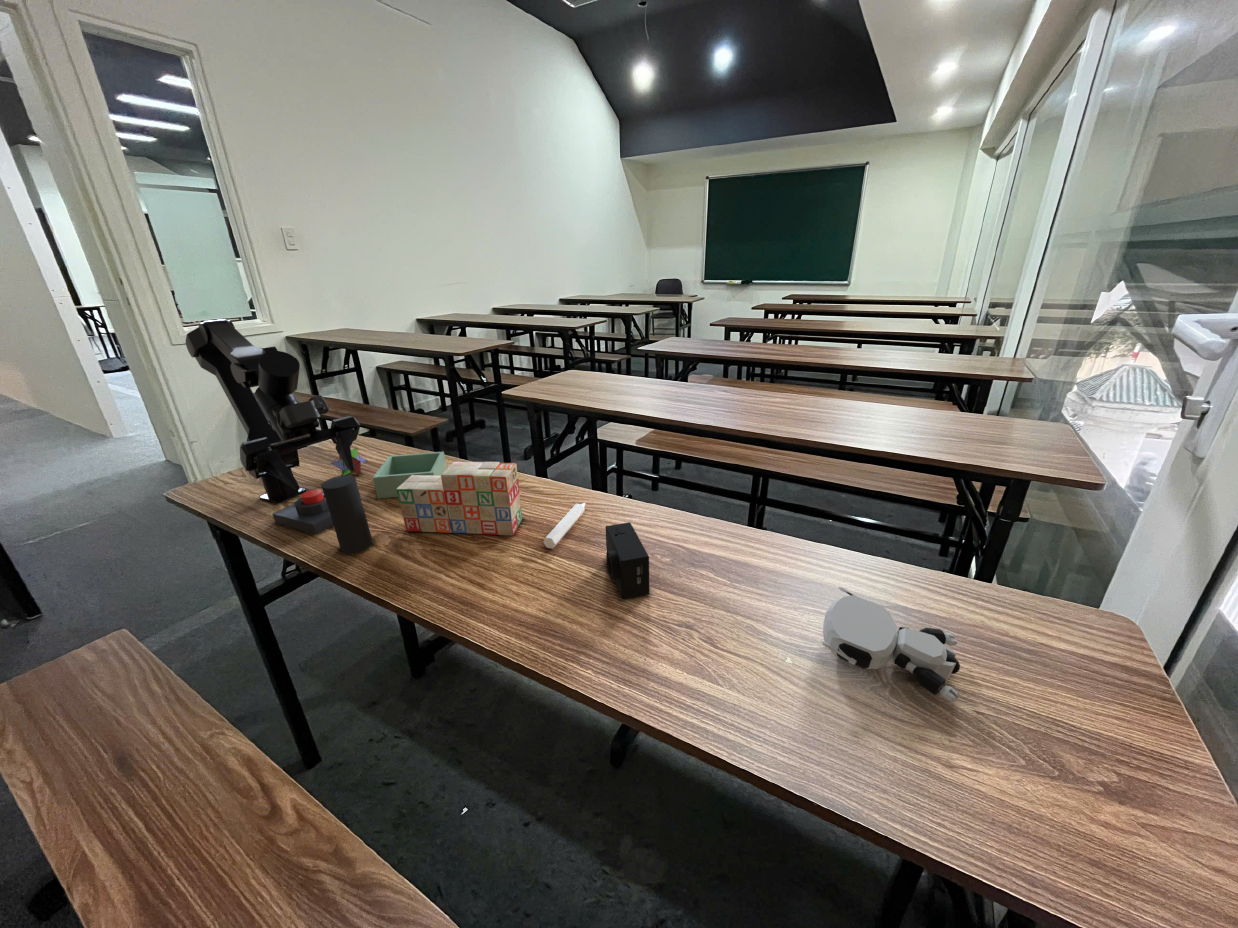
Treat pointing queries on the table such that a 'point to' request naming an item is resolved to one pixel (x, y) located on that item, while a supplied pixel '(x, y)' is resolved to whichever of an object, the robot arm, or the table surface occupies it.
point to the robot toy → (889, 643)
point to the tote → (406, 470)
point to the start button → (312, 497)
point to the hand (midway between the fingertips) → (326, 479)
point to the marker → (564, 526)
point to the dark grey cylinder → (347, 514)
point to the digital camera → (627, 560)
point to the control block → (305, 516)
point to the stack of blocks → (463, 499)
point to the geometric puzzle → (356, 463)
